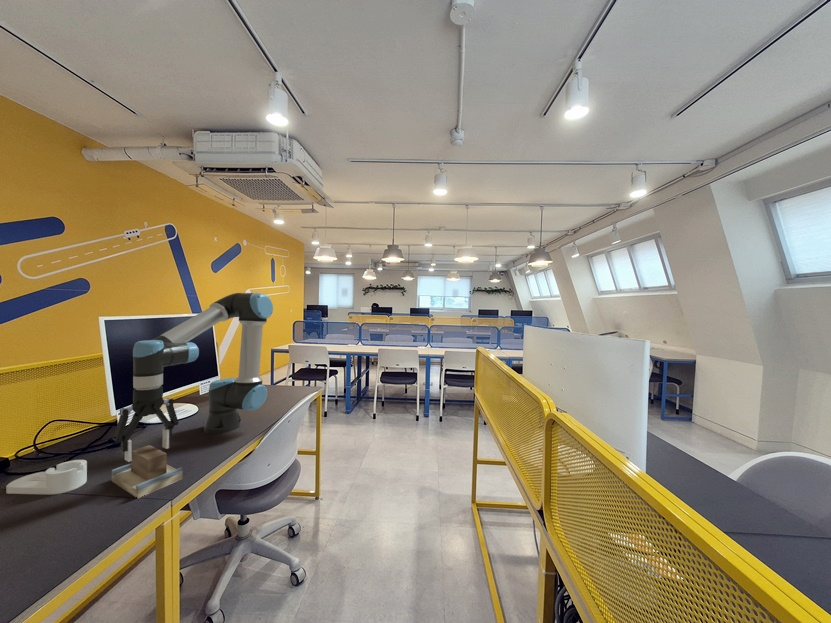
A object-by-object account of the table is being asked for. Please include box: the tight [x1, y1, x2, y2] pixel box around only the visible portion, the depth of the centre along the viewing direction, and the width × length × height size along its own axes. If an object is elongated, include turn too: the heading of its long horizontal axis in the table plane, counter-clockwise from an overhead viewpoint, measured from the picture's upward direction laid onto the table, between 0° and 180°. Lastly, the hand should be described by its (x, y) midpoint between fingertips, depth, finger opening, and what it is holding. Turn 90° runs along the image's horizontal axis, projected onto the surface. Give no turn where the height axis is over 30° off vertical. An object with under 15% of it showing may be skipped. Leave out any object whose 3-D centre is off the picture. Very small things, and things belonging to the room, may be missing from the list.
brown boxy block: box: [130, 444, 168, 481], centre depth 103 cm, size 5×12×7 cm, turn 62°
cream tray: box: [111, 462, 184, 499], centre depth 103 cm, size 12×18×4 cm, turn 63°
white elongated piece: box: [5, 459, 88, 495], centre depth 98 cm, size 20×9×7 cm, turn 91°
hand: (147, 453), depth 103 cm, fingers open, 9 cm apart
